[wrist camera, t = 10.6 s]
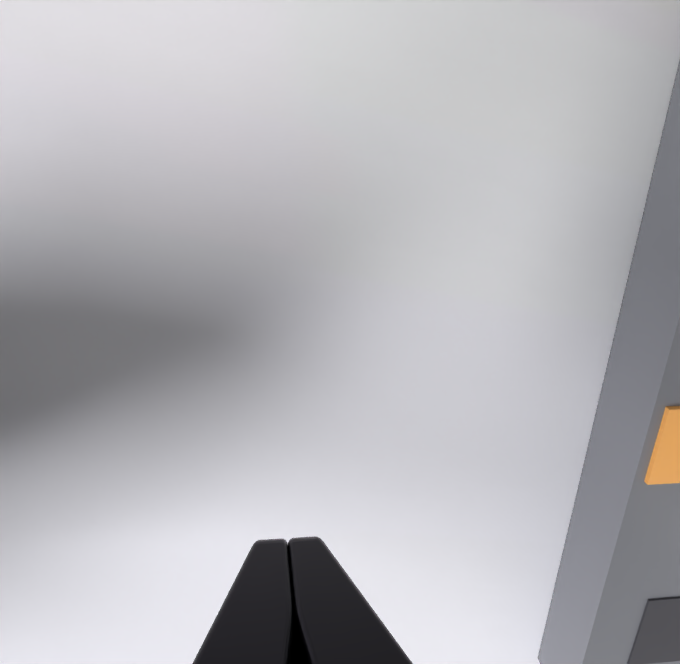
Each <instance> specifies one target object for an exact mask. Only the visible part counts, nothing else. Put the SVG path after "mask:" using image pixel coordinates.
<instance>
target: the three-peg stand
mask: <svg viewBox="0 0 680 664" xmlns="http://www.w3.org/2000/svg"><path fill="white" fill-rule="evenodd" d="M538 660H539V662H540V664H680V62H679V66H678V70H677V74H676V79H675V83H674V87H673V91H672V95H671V100H670V104H669V108H668V112H667V116H666V121H665V125H664V129H663V133H662V137H661V142H660V146H659V150H658V154H657V159H656V163H655V167H654V171H653V175H652V180H651V184H650V188H649V192H648V196H647V201H646V205H645V209H644V213H643V217H642V222H641V226H640V230H639V234H638V238H637V243H636V247H635V251H634V255H633V260H632V264H631V268H630V272H629V276H628V281H627V285H626V289H625V293H624V297H623V302H622V306H621V310H620V314H619V318H618V323H617V327H616V331H615V335H614V339H613V344H612V348H611V352H610V356H609V361H608V365H607V369H606V373H605V377H604V382H603V386H602V390H601V394H600V398H599V403H598V407H597V411H596V415H595V419H594V424H593V428H592V432H591V436H590V441H589V445H588V449H587V453H586V457H585V462H584V466H583V470H582V474H581V478H580V483H579V487H578V491H577V495H576V499H575V504H574V508H573V512H572V516H571V520H570V525H569V529H568V533H567V537H566V542H565V546H564V550H563V554H562V558H561V563H560V567H559V571H558V575H557V579H556V584H555V588H554V592H553V596H552V600H551V605H550V609H549V613H548V617H547V621H546V626H545V630H544V634H543V638H542V643H541V647H540V651H539V655H538Z"/></svg>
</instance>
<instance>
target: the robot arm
mask: <svg viewBox="0 0 680 664" xmlns="http://www.w3.org/2000/svg"><path fill="white" fill-rule="evenodd" d="M193 664H413V663H412V662H411V661H410V659H409V658H408V657H407V655H406V654H405V653H404V651H403V650H402V648H401V647H400V646H399V644H398V643H397V642H396V640H395V639H394V638H393V636H392V635H391V633H390V632H389V631H388V629H387V628H386V627H385V625H384V624H383V622H382V621H381V620H380V618H379V617H378V616H377V614H376V613H375V612H374V610H373V609H372V607H371V606H370V605H369V603H368V602H367V601H366V599H365V598H364V597H363V595H362V594H361V592H360V591H359V590H358V588H357V587H356V586H355V584H354V583H353V582H352V580H351V579H350V577H349V576H348V575H347V573H346V572H345V571H344V569H343V568H342V567H341V565H340V564H339V562H338V561H337V560H336V558H335V557H334V556H333V554H332V553H331V551H330V550H329V549H328V547H327V546H326V545H325V543H324V542H323V541H322V540H321V539H320V538H319V537H301V538H292V539H290V540H289V542H288V544H287V542H286V540H284V539H268V540H258V541H256V542H255V543H254V544H253V546H252V548H251V550H250V552H249V554H248V556H247V557H246V559H245V561H244V563H243V565H242V567H241V569H240V571H239V573H238V575H237V577H236V579H235V581H234V583H233V585H232V587H231V589H230V591H229V593H228V595H227V597H226V599H225V601H224V603H223V605H222V607H221V609H220V611H219V613H218V615H217V617H216V618H215V620H214V622H213V624H212V626H211V628H210V630H209V632H208V634H207V636H206V638H205V640H204V642H203V644H202V646H201V648H200V650H199V652H198V654H197V656H196V658H195V660H194V662H193Z"/></svg>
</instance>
